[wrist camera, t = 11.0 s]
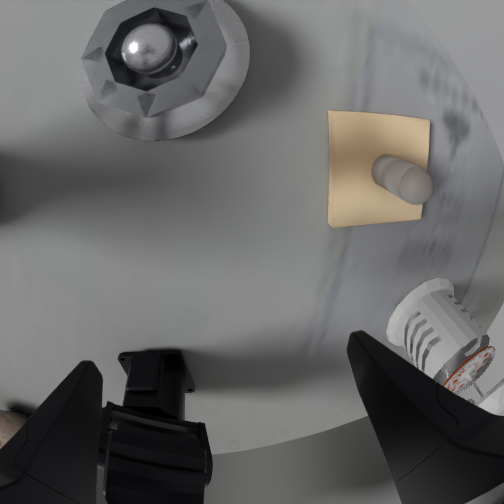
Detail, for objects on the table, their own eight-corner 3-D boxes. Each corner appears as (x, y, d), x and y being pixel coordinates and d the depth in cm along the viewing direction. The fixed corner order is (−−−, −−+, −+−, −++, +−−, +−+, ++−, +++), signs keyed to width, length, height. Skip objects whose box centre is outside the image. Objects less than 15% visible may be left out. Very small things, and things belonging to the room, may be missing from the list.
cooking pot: (66, 411, 29) (50, 482, 19) (102, 457, 38) (97, 509, 27) (-37, 374, 25) (-59, 424, 15) (8, 427, 34) (-4, 470, 23)
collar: (188, 127, 15) (182, 132, 12) (89, 94, 13) (66, 94, 10) (240, 29, 12) (245, 13, 10) (137, -2, 10) (124, -20, 8)
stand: (413, 214, 21) (457, 246, 16) (327, 222, 20) (361, 261, 15) (421, 118, 17) (474, 130, 12) (328, 110, 16) (371, 114, 12)
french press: (458, 263, 24) (597, 432, 3) (447, 332, 30) (537, 473, 8) (385, 301, 25) (513, 526, 3) (386, 365, 31) (464, 531, 9)
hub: (252, 127, 17) (269, 135, 12) (99, 151, 16) (57, 172, 11) (241, -13, 12) (253, -55, 7) (88, 16, 11) (47, -7, 6)
